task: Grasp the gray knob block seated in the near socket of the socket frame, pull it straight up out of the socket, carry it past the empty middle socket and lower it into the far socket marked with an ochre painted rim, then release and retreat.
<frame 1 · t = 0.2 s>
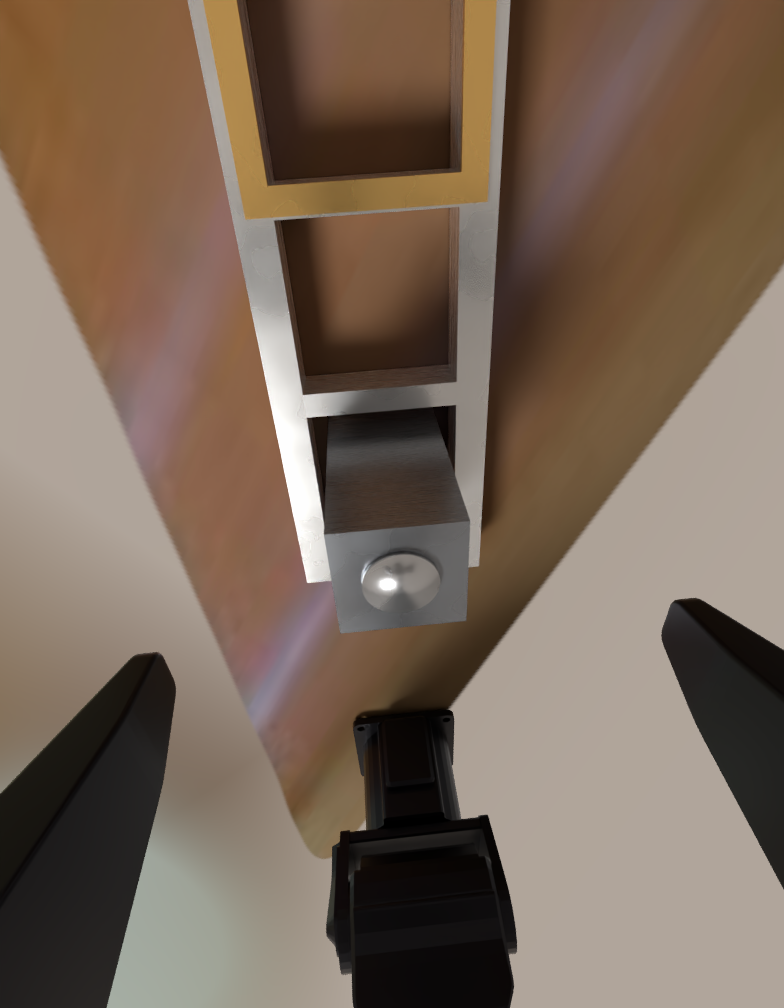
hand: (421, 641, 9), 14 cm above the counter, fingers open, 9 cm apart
socket frame: (371, 295, 19), on the counter
gray knob block: (383, 451, 23), resting in socket frame
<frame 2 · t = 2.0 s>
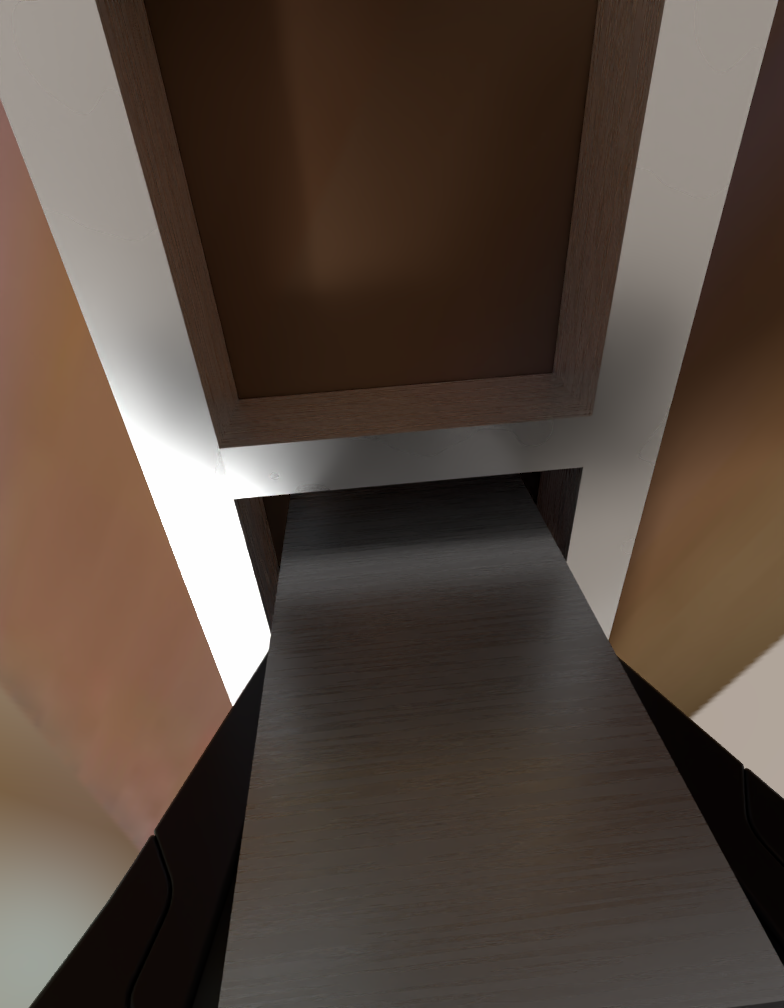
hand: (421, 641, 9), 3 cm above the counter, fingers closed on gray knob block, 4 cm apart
socket frame: (387, 205, 8), on the counter
gray knob block: (405, 546, 11), resting in socket frame, touching gripper
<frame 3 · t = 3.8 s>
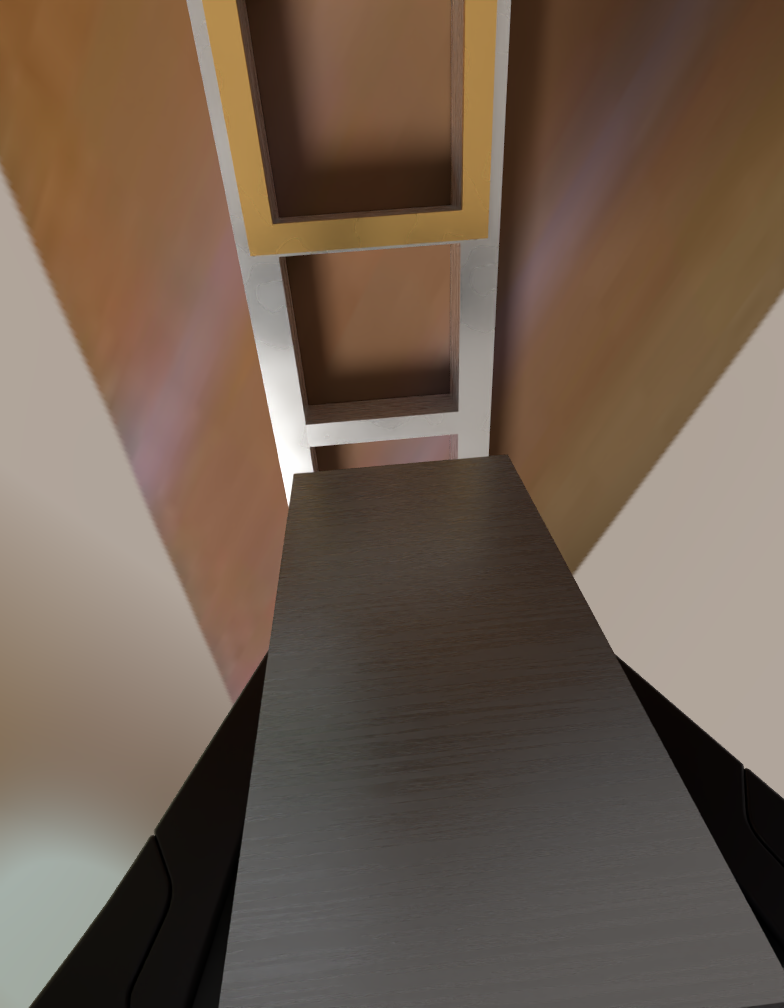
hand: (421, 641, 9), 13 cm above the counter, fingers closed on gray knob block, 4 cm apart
socket frame: (374, 327, 19), on the counter
gray knob block: (405, 547, 11), point 11 cm above the counter, touching gripper
when the fingers open (4 cm above the counter, at t = 5.9 s): gray knob block drops 1 cm, resting in socket frame.
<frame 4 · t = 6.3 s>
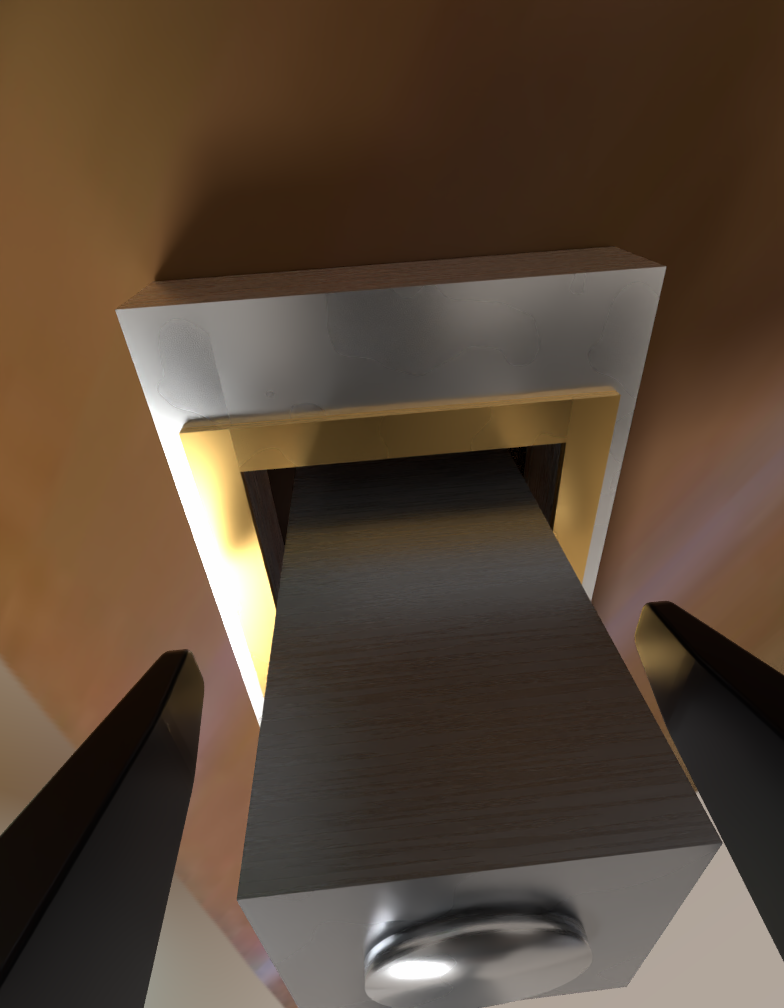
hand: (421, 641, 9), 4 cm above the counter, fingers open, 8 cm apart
socket frame: (411, 691, 16), on the counter
gray knob block: (402, 518, 12), resting in socket frame
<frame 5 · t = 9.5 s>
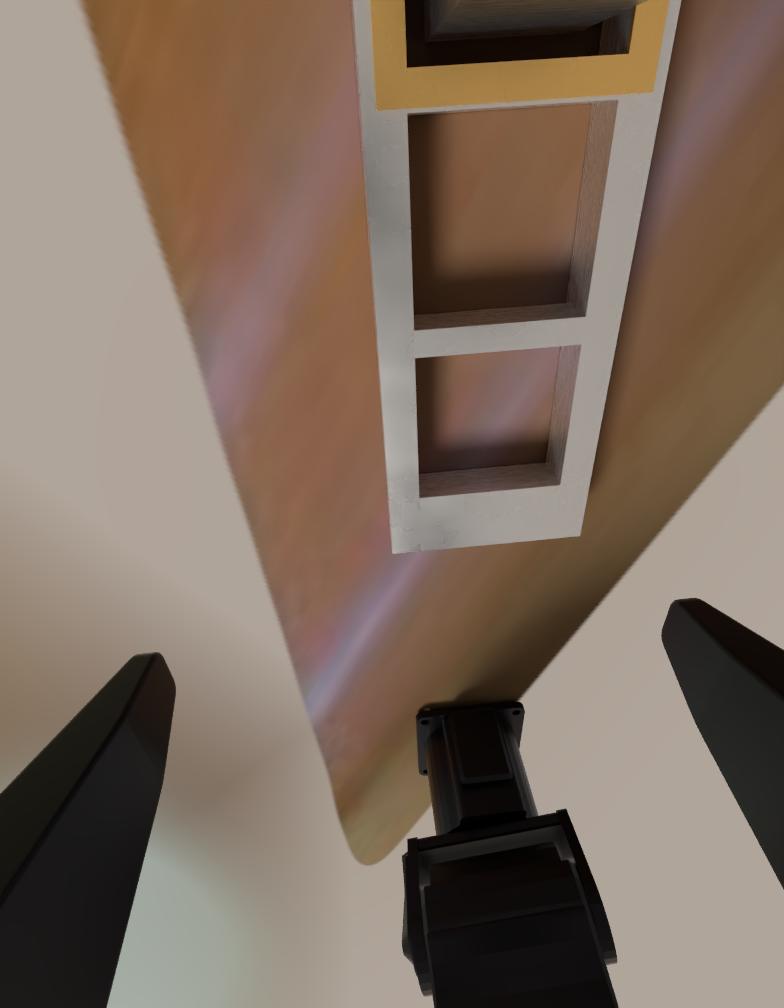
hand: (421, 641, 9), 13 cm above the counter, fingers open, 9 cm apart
socket frame: (491, 218, 17), on the counter
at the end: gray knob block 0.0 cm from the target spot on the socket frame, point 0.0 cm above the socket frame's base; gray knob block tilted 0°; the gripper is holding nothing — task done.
